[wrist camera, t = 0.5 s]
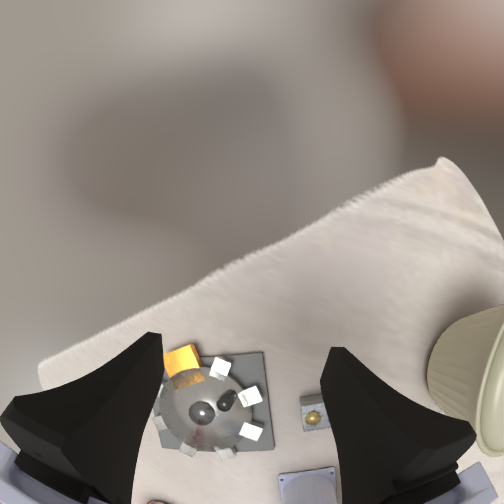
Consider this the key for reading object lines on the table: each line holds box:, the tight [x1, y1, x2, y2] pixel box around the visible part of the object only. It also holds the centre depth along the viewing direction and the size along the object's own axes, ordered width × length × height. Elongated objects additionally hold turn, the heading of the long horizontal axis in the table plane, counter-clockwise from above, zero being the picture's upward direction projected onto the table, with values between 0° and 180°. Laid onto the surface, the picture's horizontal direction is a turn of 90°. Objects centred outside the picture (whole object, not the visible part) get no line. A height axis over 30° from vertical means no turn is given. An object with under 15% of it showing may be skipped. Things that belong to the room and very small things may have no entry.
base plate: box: [153, 352, 274, 452], centre depth 31 cm, size 14×17×1 cm
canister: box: [427, 304, 504, 457], centre depth 18 cm, size 18×18×21 cm
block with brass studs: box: [300, 394, 331, 432], centre depth 28 cm, size 4×6×4 cm, turn 97°
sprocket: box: [152, 344, 264, 461], centre depth 28 cm, size 16×15×6 cm
